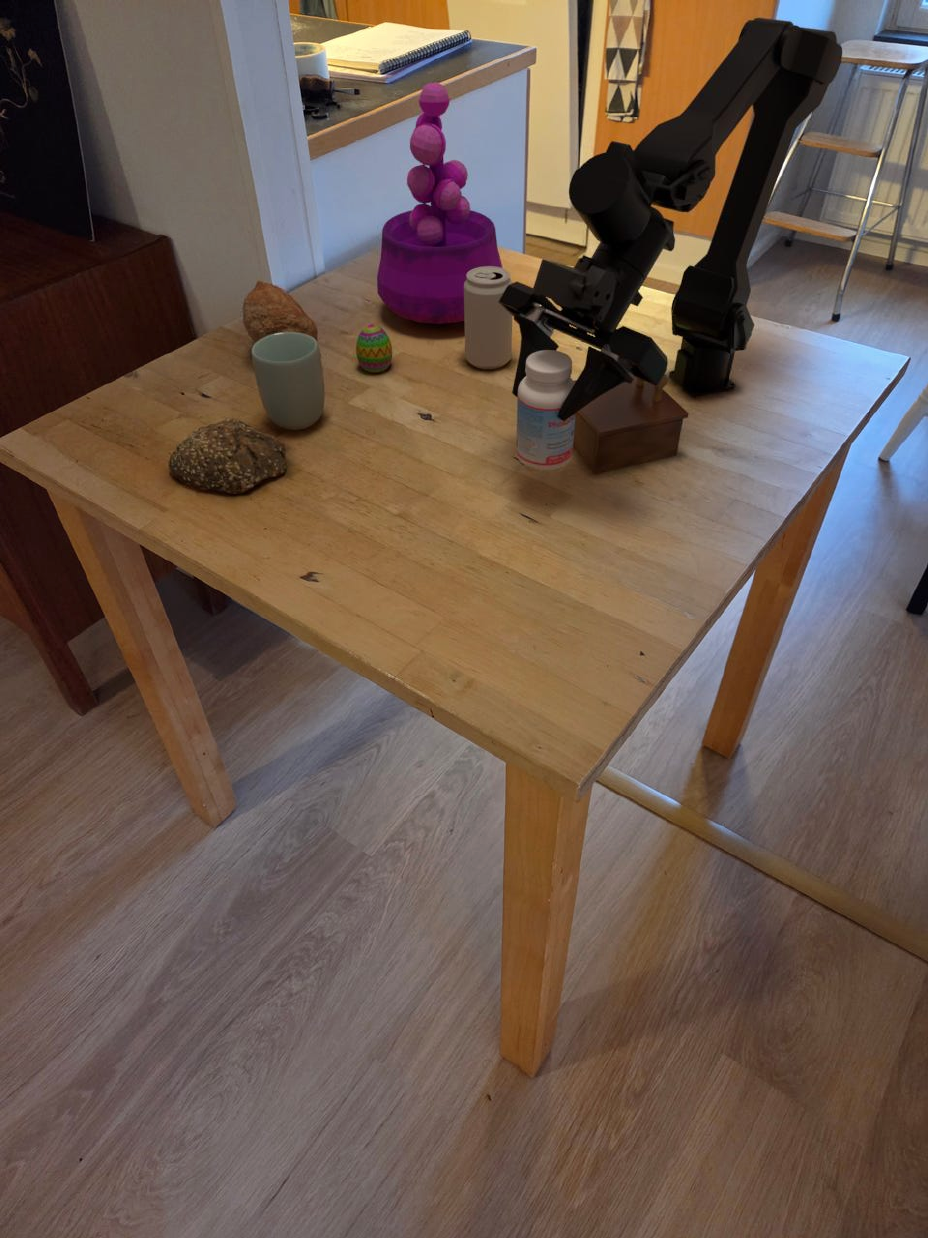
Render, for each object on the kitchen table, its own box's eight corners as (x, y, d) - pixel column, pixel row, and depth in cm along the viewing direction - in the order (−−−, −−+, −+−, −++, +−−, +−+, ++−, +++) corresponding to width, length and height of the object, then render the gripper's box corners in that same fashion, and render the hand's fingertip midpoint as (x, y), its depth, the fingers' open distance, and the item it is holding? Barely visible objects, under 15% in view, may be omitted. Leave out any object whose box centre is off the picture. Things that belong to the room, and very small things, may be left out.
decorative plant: (504, 340, 121) (508, 100, 100) (375, 341, 122) (352, 102, 101) (501, 285, 135) (505, 64, 114) (385, 286, 135) (367, 66, 114)
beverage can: (507, 373, 114) (509, 285, 106) (460, 369, 115) (459, 282, 107) (514, 351, 119) (517, 265, 110) (469, 348, 120) (468, 262, 111)
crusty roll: (310, 331, 124) (300, 262, 117) (326, 370, 116) (316, 298, 109) (245, 340, 122) (231, 271, 115) (256, 381, 114) (241, 309, 107)
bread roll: (156, 473, 98) (144, 436, 95) (233, 426, 106) (225, 390, 102) (235, 510, 93) (225, 472, 90) (310, 457, 100) (304, 420, 97)
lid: (639, 371, 104) (643, 340, 101) (688, 417, 96) (694, 385, 94) (556, 388, 102) (558, 357, 99) (599, 437, 94) (603, 405, 91)
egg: (364, 378, 114) (360, 336, 110) (353, 362, 117) (348, 321, 113) (398, 371, 115) (395, 328, 111) (386, 355, 118) (382, 314, 114)
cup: (340, 412, 108) (330, 338, 101) (307, 443, 102) (294, 367, 96) (288, 400, 110) (275, 326, 103) (253, 429, 105) (237, 354, 98)
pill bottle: (556, 478, 89) (562, 381, 81) (505, 462, 91) (507, 366, 83) (581, 450, 92) (590, 354, 84) (532, 435, 95) (536, 340, 87)
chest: (630, 407, 107) (634, 372, 104) (676, 455, 100) (683, 419, 96) (553, 423, 105) (556, 388, 102) (595, 473, 97) (599, 437, 94)
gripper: (512, 197, 82) (432, 343, 85) (666, 251, 72) (570, 413, 75) (563, 256, 91) (489, 385, 94) (706, 310, 81) (619, 453, 84)
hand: (537, 407), depth 86 cm, fingers closed on pill bottle, 6 cm apart
